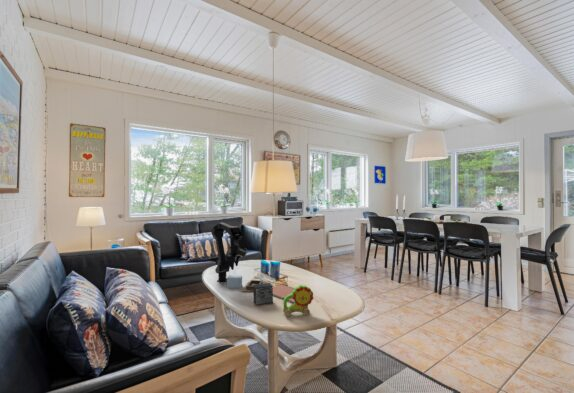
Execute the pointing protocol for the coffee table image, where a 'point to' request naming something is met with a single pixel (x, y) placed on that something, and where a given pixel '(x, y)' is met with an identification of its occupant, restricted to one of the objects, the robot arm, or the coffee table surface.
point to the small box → (262, 294)
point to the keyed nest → (250, 284)
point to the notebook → (283, 292)
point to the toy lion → (298, 301)
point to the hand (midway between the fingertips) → (234, 267)
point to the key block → (234, 281)
